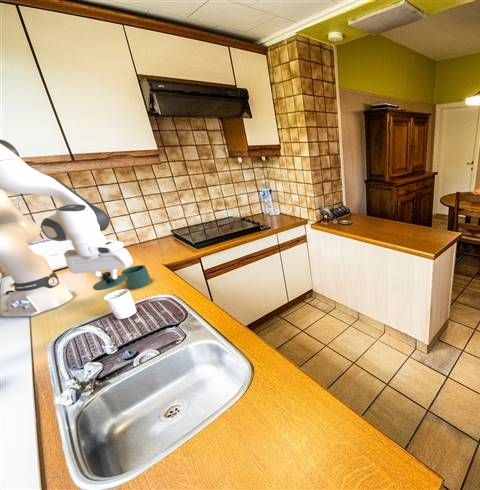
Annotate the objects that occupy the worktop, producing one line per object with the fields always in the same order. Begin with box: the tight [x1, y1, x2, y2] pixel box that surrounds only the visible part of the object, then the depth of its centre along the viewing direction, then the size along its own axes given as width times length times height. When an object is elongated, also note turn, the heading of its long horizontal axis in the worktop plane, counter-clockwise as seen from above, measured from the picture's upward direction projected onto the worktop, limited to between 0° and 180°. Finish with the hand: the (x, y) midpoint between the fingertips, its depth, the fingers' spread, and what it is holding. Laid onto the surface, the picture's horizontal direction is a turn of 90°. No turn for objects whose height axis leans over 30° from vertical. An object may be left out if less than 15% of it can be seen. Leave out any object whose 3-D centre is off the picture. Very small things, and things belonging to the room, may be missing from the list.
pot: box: [120, 264, 152, 290], centre depth 133 cm, size 9×9×8 cm
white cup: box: [103, 288, 137, 320], centre depth 109 cm, size 8×8×10 cm
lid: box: [92, 271, 128, 291], centre depth 105 cm, size 10×10×5 cm
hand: (109, 279), depth 105 cm, fingers closed on lid, 2 cm apart
